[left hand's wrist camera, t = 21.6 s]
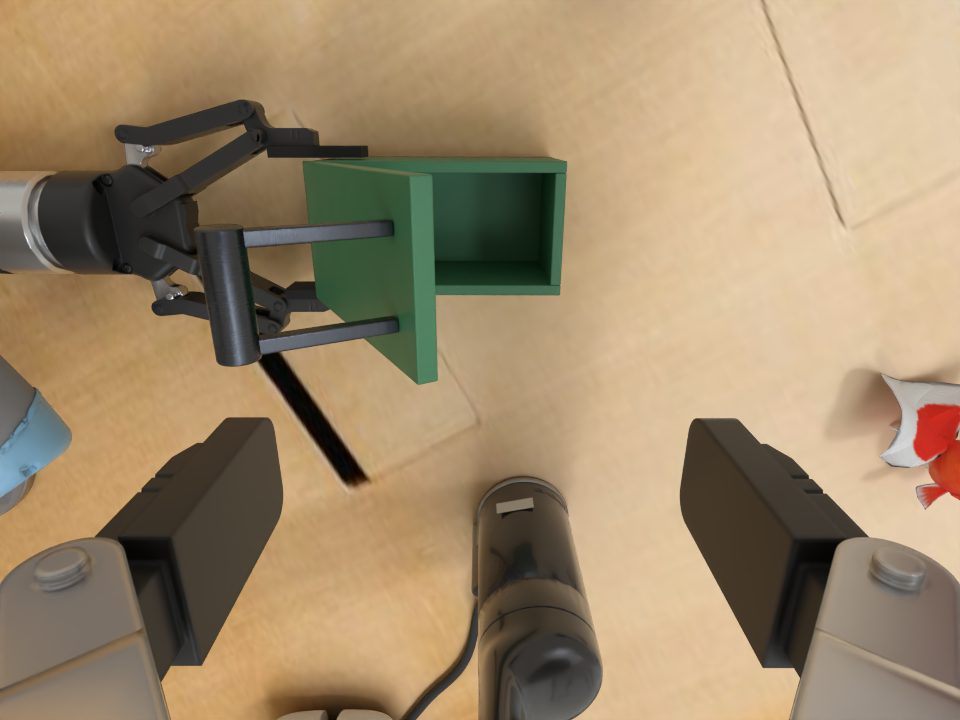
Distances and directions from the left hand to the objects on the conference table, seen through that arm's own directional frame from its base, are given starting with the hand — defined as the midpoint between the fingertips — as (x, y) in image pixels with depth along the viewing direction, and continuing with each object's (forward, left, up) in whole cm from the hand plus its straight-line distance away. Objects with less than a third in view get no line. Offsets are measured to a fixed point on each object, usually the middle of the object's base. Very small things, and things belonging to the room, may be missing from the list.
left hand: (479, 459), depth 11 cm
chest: (-2, +2, -40) cm, 40 cm away
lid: (-4, +5, -23) cm, 23 cm away
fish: (+11, -45, -40) cm, 62 cm away
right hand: (-5, +6, -34) cm, 35 cm away
